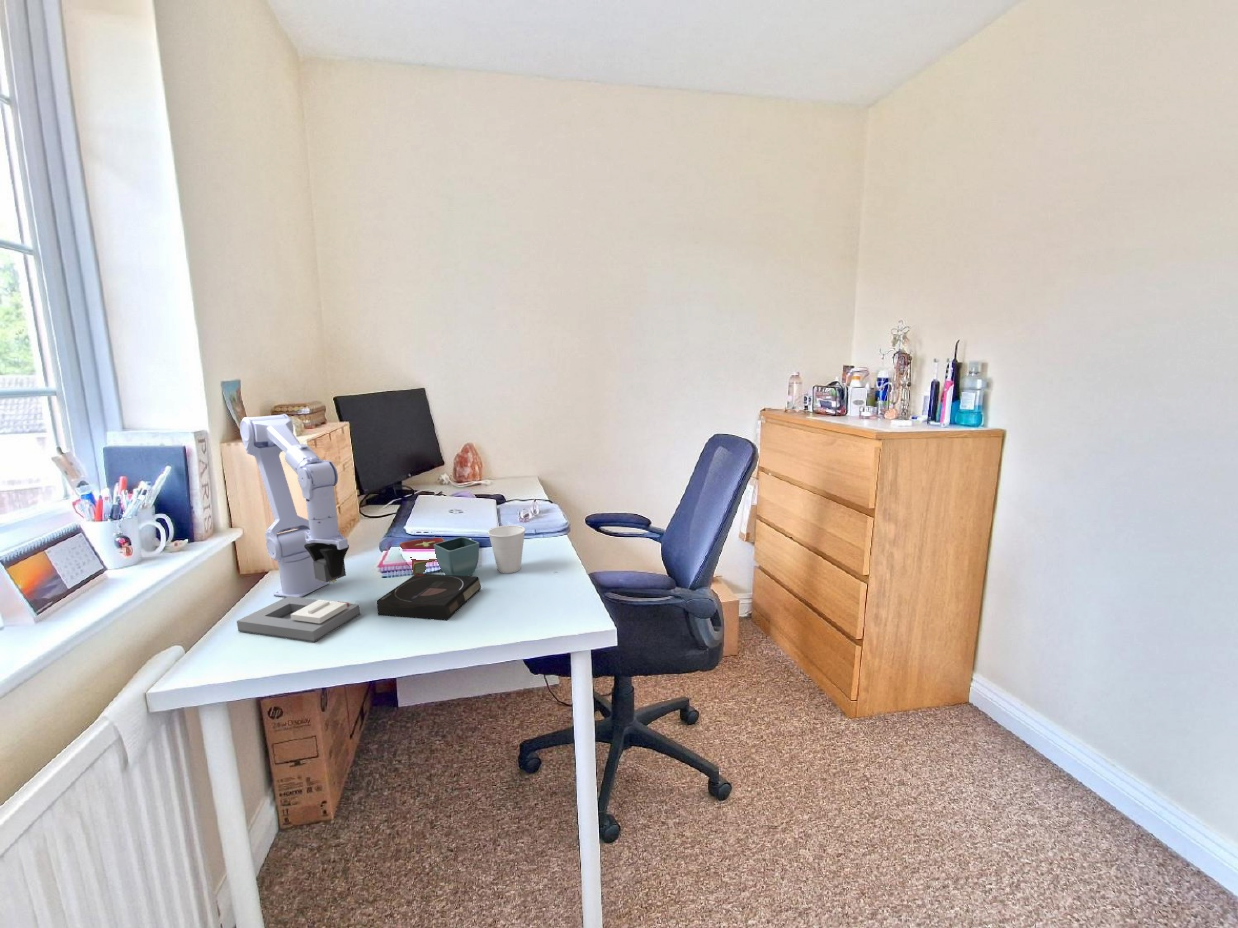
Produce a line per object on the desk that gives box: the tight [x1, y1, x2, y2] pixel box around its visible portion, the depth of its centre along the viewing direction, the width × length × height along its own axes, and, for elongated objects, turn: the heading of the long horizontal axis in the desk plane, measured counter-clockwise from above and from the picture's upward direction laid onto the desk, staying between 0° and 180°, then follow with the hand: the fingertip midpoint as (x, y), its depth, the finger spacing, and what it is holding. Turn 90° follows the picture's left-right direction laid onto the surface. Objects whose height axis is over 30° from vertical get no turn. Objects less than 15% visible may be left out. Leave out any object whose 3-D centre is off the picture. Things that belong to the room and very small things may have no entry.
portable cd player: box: [376, 573, 482, 621], centre depth 130 cm, size 16×17×4 cm
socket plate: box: [236, 596, 362, 643], centre depth 121 cm, size 13×20×3 cm, turn 74°
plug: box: [313, 558, 347, 583], centre depth 126 cm, size 5×5×5 cm
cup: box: [487, 524, 527, 574], centre depth 148 cm, size 10×10×11 cm
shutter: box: [291, 599, 347, 623], centre depth 119 cm, size 8×8×2 cm
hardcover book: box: [398, 537, 446, 576], centre depth 158 cm, size 12×21×4 cm, turn 31°
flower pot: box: [434, 536, 480, 576], centre depth 145 cm, size 9×9×9 cm
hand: (329, 573), depth 126 cm, fingers closed on plug, 5 cm apart
